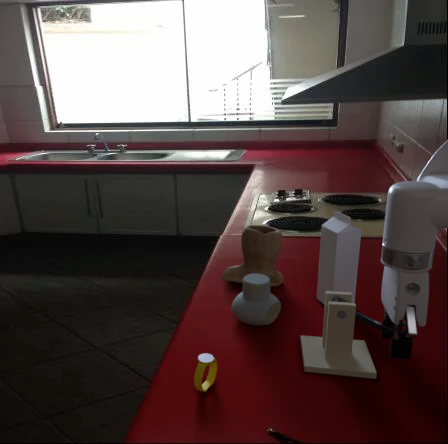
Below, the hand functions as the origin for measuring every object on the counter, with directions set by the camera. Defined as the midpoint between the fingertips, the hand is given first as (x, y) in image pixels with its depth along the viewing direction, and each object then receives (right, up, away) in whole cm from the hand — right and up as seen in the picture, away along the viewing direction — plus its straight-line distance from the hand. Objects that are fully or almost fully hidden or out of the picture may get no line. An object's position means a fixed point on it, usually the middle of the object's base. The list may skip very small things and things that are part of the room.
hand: (395, 346), depth 76 cm
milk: (-1, +3, +23) cm, 23 cm away
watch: (-35, -7, -2) cm, 35 cm away
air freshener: (-21, +1, +18) cm, 28 cm away
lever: (-6, +4, 0) cm, 7 cm away
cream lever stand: (-9, -3, +4) cm, 11 cm away
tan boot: (-17, +7, +37) cm, 41 cm away
